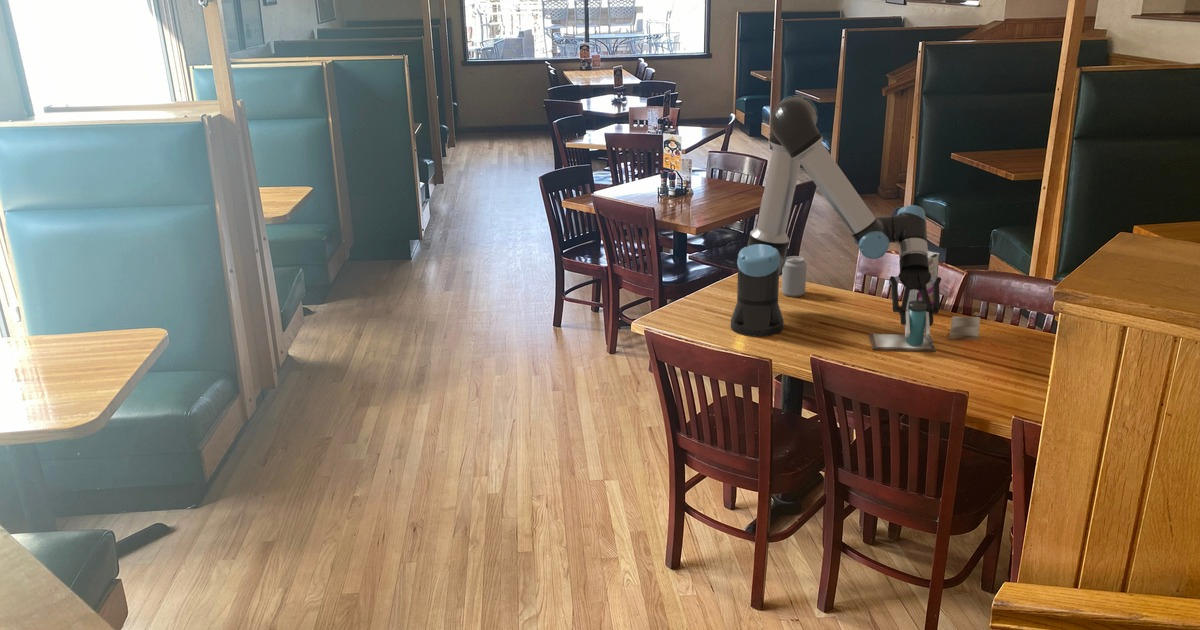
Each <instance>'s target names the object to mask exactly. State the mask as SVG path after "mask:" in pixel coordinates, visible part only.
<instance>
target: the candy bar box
mask: <svg viewBox="0 0 1200 630" xmlns="http://www.w3.org/2000/svg"><path fill="white" fill-rule="evenodd" d="M928 262H929V272H930V274H931V276H932V277H935V278H937V277H939V276H938V275H939V264H940V263H939V262H940V252H934V251H930V250H928ZM903 286H904V285H903ZM926 287H927V292H928V295H929V298H930V301H931V305H932V306H933V286H932V284H931V281H929V282H928V283H927V285H926ZM903 289H904V291H905V286H904V288H903ZM904 291H903V292H904ZM915 300H917V301H923V300H922V297H921V294H920V292H919V290H915V289H914V290H910V293H909V298H908V302H907V307H906V310H908V311H909V309H908V306H909V302H910V301H915Z"/></svg>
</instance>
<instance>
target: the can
mask: <svg viewBox="0 0 1200 630" xmlns="http://www.w3.org/2000/svg"><path fill="white" fill-rule="evenodd" d="M805 260H806V258H805V257H804V256H803V257H802V256H798V255H792V256H791V255H790V256H786V262H785V265H784V267H783V269H782V271H781V293H782V294H783V295H785V296H787V297H792V298H795V297H796V298H798V297H802V296H803V295H804V294H805V293H806V283H807V265H808V263H807V262H806V261H805Z"/></svg>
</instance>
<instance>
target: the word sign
mask: <svg viewBox="0 0 1200 630" xmlns="http://www.w3.org/2000/svg"><path fill="white" fill-rule="evenodd" d="M950 321H951V323H950V329H949V331H950V333H947V339H948V341H949V340H950V339H951V341H974V342H975V341H977V342H979V341H981V335H980V334H979V333H980V332H979V331H980V324H981V317H979V316H951V320H950Z"/></svg>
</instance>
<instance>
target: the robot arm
mask: <svg viewBox="0 0 1200 630" xmlns="http://www.w3.org/2000/svg"><path fill="white" fill-rule="evenodd" d="M817 109H818V108H817V107H816V105H815V104H814V102H813V101H812V100H811V99H809V98H808V97H806V96H802V95H795V94H794V95H790V96H787V97H785V98H783V99H782V100H781V101H780V102H779V103H778V105H777V106H776V107H775V108H774V109H773V111H772V113H771V115H770V120H769V122H770V123H769V124H770V129H771V130H770V134H769V140H768V142H769V144H770V146H771V148H772V151H771V156H770V161H769V165H768V169H767V176H766V180H765V184H764V190H763V196H762V200H761V203H760V209H759V214H758V219H757V224H756V227H755V228H754V229H752V230H751V231H750V233H749V235H748V236H749V237H748V241H747V246H744V247H743V248H741V249H740V250H739V252H738V254H737V260H736V261H737V262H736V264H737V283H736V284H737V289H736V290H737V291H736V293H737V297H736V304H735V306H734V309H733V311H732V312H733V313H732V315H731V318H730V329H731V330H732V331H734V332H735V333H737V334H739V335H743V336H748V335H749V336H750V337H769V336H774V335H777V334H779V333H782V331H783V330H784V324H785V323H784V318H783V315H782V312H781V308H780V305H779V284H780V275H781V274H782V269H783V267H784V265H785V262H786V257H787V251H788V247H789V242H790V237H789V236H788V235H787V234H786V231H787V228H788V223H789V218H790V214H791V210H792V205H793V200H794V195H795V192H796V187H797V181H798V177H799V173H800V168H801V166H802V168H803V169H804V170H805V172H806V174H808V176H809V178H810V179H811V180H812V182H813V183H814V184H815V186H816V187H817V189H818V190H819V192H821V194H822V195H823V197H824V198H825V200H826V201H827V203H828V204H829V205H830V206H831V208H832V210H833V211H834V212H835V213H836V215H837V216H838V218H839V220H841V222H842V223H843V224H844V226H845V227H846V229H847V231H848V232H849V233H850V235H851V236H852V237H853V240H854V243H855V244H856V245H858V249H859V251H860V252H861V255H862V256H864V258H866V259H870V260H877V259H881V258H882V257H884V255H886V254H887V253H888V249H889V248H890V243H892V244H893V243H895V244H896V243H898V254H899V255H898V257H899V260H898V261H899V262H898V263H899V274H898V275H896V276H893V275H891V276H890V277H889V281H888V284H889V285H890V288H891V298H892V299H891V301H892V312H893V313H897V314H899V316H900V325H901V326H904V335H905V337H907V338H908V337H909V335H910V323H909V311H906V307H907V302H908V298H909V293H910V290H914V289H915V290H919V292H920V294H921V297H922V300H923V301H924V302H926V303H927V310H926V317H925V328H924V335H925V338H928V337H929V336H931V330H930V329H931V327H932V326H933V324H934V315H935V314H939V312H940V309H941V299H940V295H941V293H940V284H941V282H942V277H940V276H938V277H937V278H935V277H932V276H931V274H930V272H929V262H928V251H929V249H928V230H927V219H926V218H927V217H926V212H925V209H924V208H923V207H921V206H918V205H913V204H909V205H906V206H903V207H901V208H899V209H898V211H897V214H896V215H890V216H876V217H875V216H874V215H873V213H872V211H871V210H870V209H869V207H868V205H866V203H865V201H864V200H863V199H862V198H861V196H860V195H859V194H858V192H857V190H856V189H855V187H854V186H853V185H852V182H850V180H849V179H848V178H847V176H846V175H845V173H844V172H843V171H842V169H841V168H840V166H839V165H838V164H837V162H836V161H835V159H834V158H833V156H832V155H831V154H830V152H829V151H828V149H827V148H826V146H825V145H824V144H823V138H824V137H823V135H822V134H821V132H820V131H819V129H818V127H817V123H818V118H819V116H818V115H819V114H818V113H819V111H818V110H817ZM929 281H931V284H932V286H933V305H931V301H930V298H929V295H928V292H927V287H926V285H927V283H928V282H929ZM899 283H901V284H902V285H903V286H905V291H903V297H902V300H901V305H900V304H899V303H900V301H899V290H898V288H899V287H898V284H899ZM930 326H931V327H930Z"/></svg>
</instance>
